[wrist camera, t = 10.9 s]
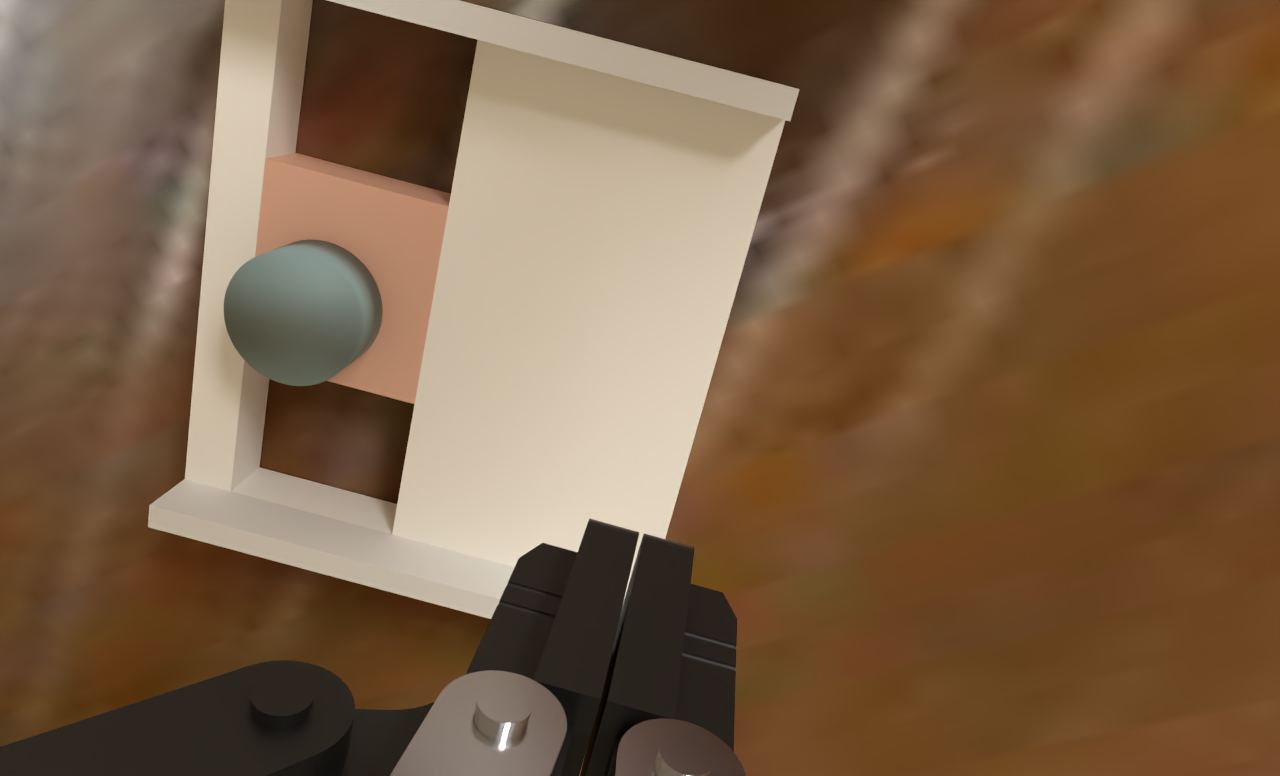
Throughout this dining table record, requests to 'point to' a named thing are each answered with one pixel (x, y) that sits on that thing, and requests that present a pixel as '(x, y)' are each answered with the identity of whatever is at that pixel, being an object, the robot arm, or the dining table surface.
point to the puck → (302, 311)
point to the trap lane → (484, 298)
